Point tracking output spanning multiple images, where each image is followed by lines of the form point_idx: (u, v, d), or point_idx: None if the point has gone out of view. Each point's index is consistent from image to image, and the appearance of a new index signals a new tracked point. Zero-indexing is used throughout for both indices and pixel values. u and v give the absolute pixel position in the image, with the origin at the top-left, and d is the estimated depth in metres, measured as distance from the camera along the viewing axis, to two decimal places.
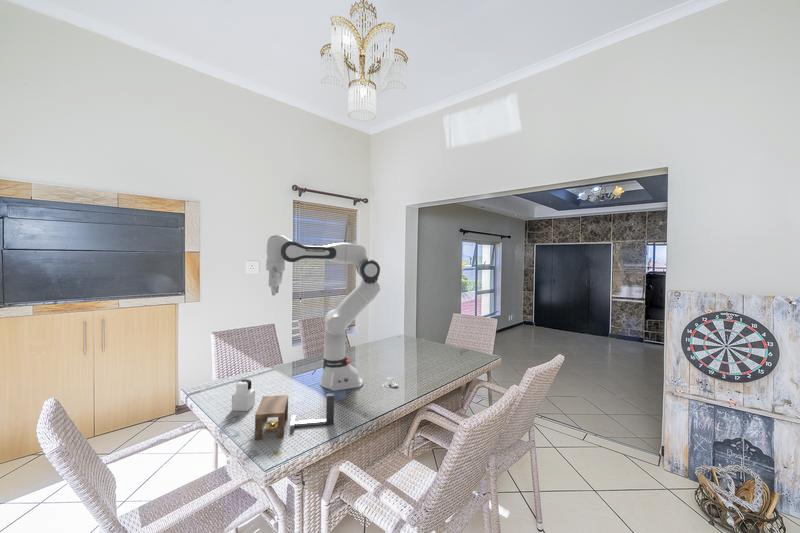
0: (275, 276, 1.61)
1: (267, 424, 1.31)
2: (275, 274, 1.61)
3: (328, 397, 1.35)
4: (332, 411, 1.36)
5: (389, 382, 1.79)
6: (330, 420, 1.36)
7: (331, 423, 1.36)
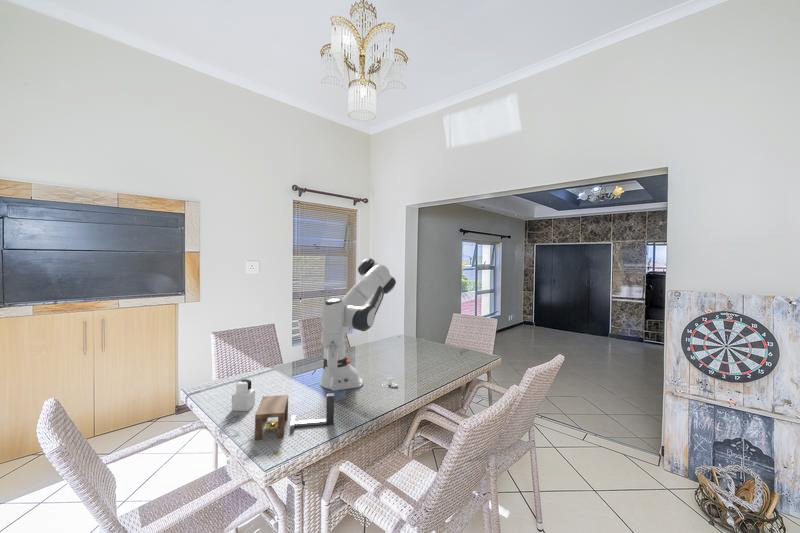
0: (336, 355, 1.27)
1: (267, 424, 1.31)
2: (336, 353, 1.27)
3: (328, 397, 1.35)
4: (332, 411, 1.36)
5: (389, 382, 1.78)
6: (330, 420, 1.36)
7: (331, 423, 1.36)
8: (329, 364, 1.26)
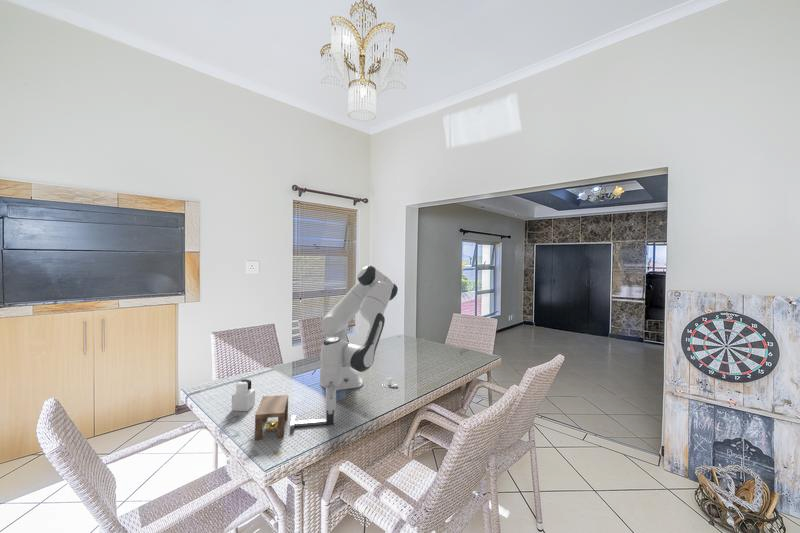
0: (334, 397, 1.28)
1: (267, 424, 1.31)
2: (334, 394, 1.28)
3: None
4: None
5: (389, 382, 1.78)
6: (330, 420, 1.36)
7: (331, 423, 1.36)
8: (327, 406, 1.27)
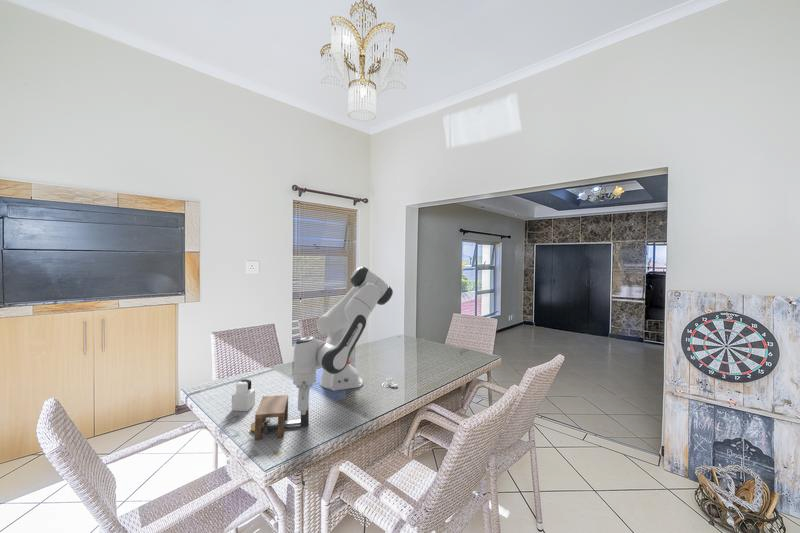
0: (306, 397, 1.25)
1: (252, 425, 1.30)
2: (306, 394, 1.25)
3: None
4: (306, 411, 1.34)
5: (389, 382, 1.78)
6: (305, 420, 1.34)
7: (306, 424, 1.34)
8: (299, 406, 1.24)
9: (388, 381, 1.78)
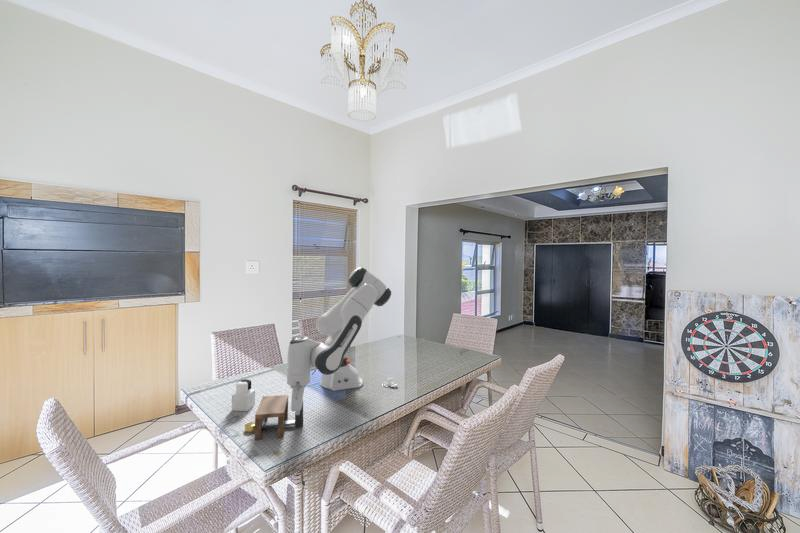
0: (300, 397, 1.25)
1: (246, 426, 1.29)
2: (300, 395, 1.25)
3: None
4: (301, 412, 1.33)
5: (389, 382, 1.78)
6: (299, 421, 1.33)
7: (300, 424, 1.33)
8: (292, 407, 1.24)
9: (388, 381, 1.78)
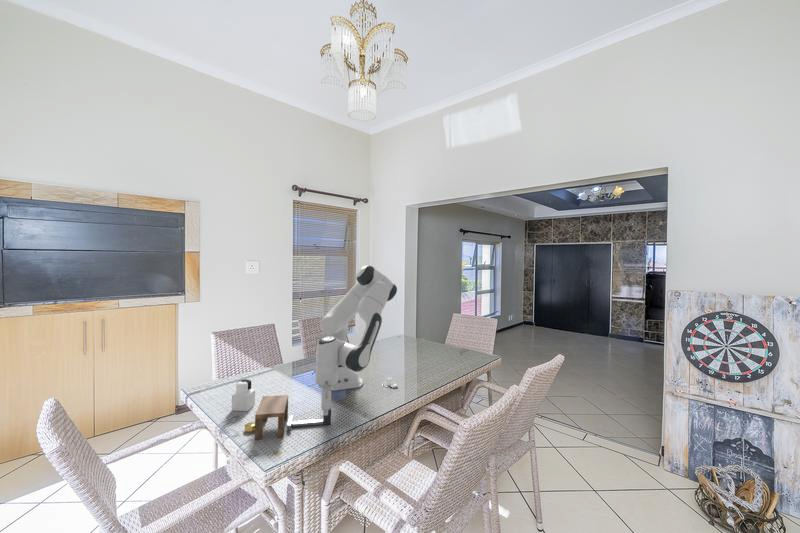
0: (329, 396, 1.27)
1: (246, 426, 1.29)
2: (329, 394, 1.27)
3: None
4: (329, 411, 1.36)
5: (388, 382, 1.78)
6: (327, 420, 1.36)
7: (328, 423, 1.36)
8: (323, 406, 1.26)
9: (388, 381, 1.78)
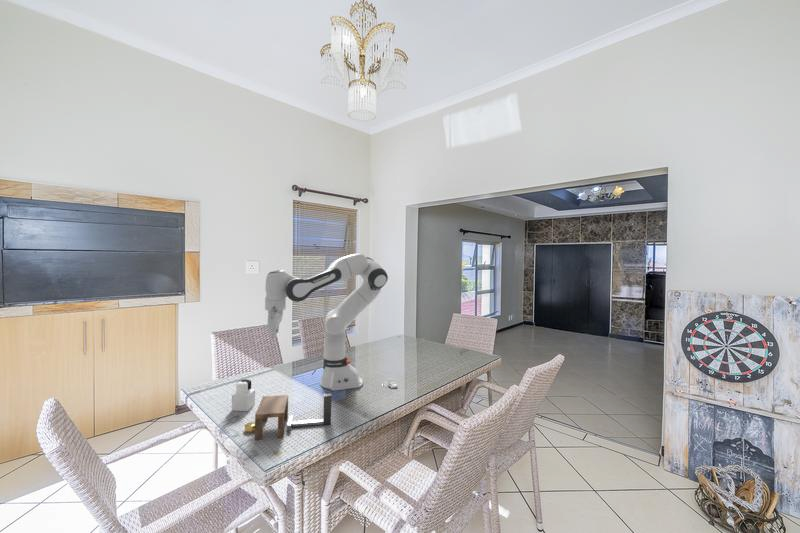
0: (275, 318, 1.45)
1: (246, 426, 1.29)
2: (275, 316, 1.45)
3: (325, 397, 1.35)
4: (329, 411, 1.36)
5: (388, 383, 1.78)
6: (327, 420, 1.36)
7: (328, 423, 1.36)
8: (268, 325, 1.44)
9: (388, 381, 1.78)
